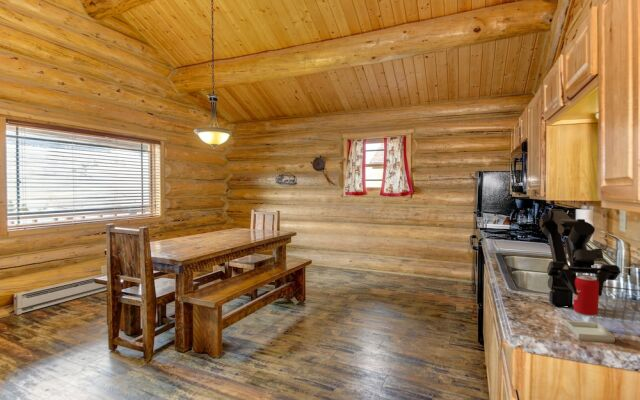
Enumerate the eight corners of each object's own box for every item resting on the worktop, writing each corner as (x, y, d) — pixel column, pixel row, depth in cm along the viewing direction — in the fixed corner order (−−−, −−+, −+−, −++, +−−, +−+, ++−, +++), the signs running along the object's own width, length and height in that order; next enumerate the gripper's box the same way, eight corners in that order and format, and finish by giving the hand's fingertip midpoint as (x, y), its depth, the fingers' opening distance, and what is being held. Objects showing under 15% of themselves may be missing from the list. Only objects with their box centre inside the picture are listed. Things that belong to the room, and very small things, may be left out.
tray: (597, 328, 115) (597, 322, 114) (614, 342, 105) (614, 336, 105) (565, 326, 117) (565, 320, 117) (578, 339, 108) (578, 333, 108)
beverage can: (585, 308, 115) (587, 273, 113) (603, 316, 108) (604, 279, 107) (568, 310, 114) (569, 274, 113) (584, 318, 108) (586, 280, 107)
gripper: (550, 237, 116) (558, 280, 107) (619, 240, 109) (634, 285, 100) (543, 254, 124) (551, 295, 115) (607, 258, 117) (621, 301, 108)
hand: (587, 294), depth 109 cm, fingers closed on beverage can, 6 cm apart
